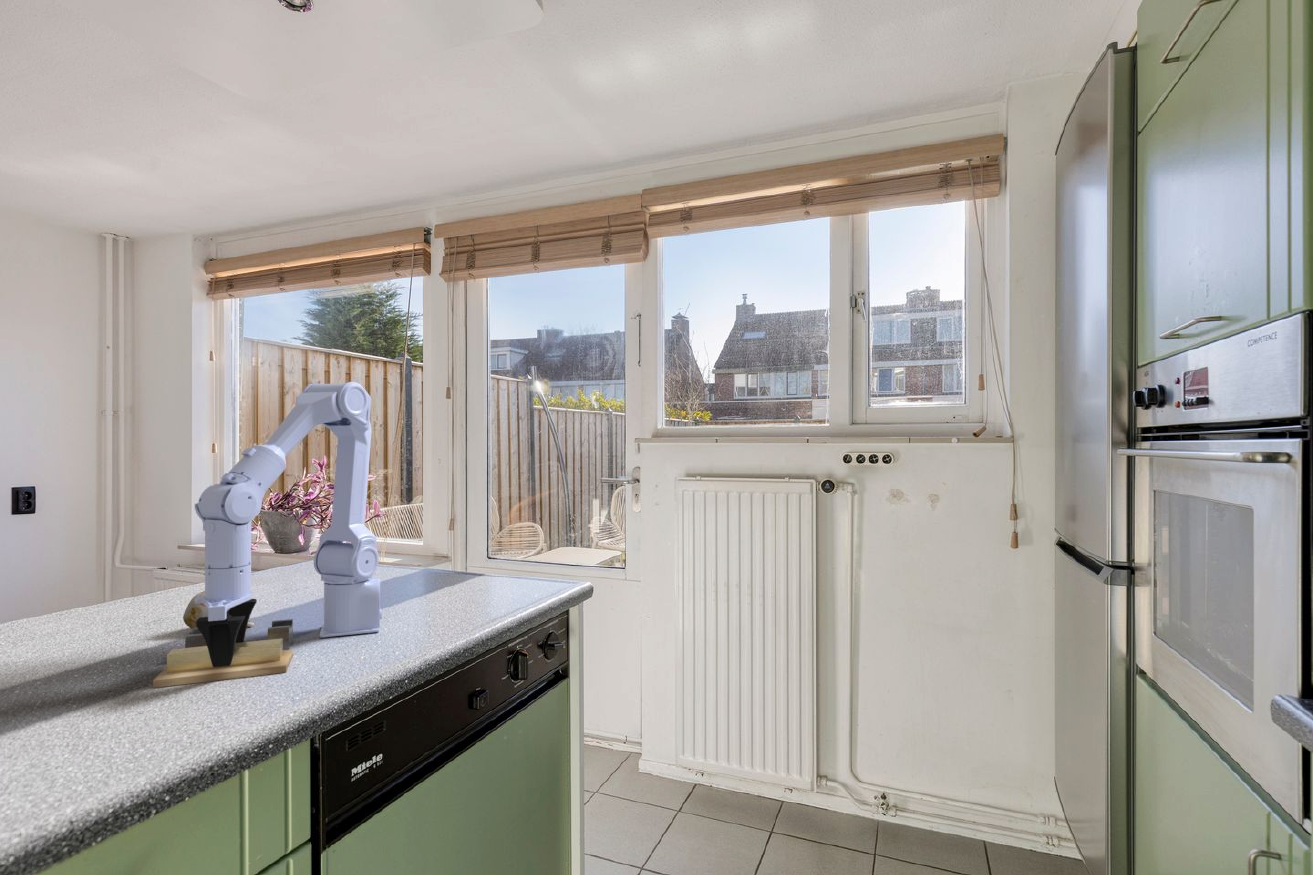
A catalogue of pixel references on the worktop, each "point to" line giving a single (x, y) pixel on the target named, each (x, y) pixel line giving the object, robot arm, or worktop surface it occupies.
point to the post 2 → (282, 632)
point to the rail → (242, 655)
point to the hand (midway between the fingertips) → (228, 657)
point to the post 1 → (195, 639)
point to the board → (223, 672)
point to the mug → (198, 612)
